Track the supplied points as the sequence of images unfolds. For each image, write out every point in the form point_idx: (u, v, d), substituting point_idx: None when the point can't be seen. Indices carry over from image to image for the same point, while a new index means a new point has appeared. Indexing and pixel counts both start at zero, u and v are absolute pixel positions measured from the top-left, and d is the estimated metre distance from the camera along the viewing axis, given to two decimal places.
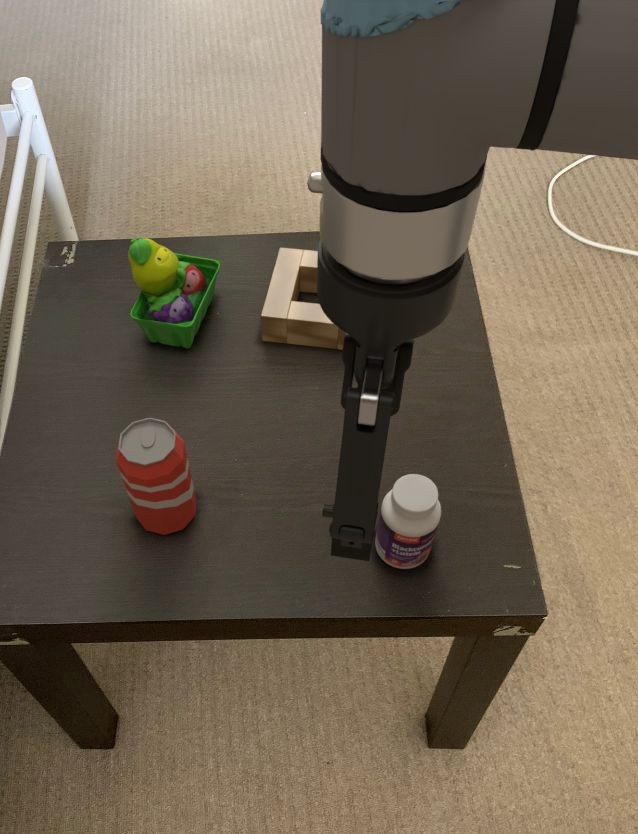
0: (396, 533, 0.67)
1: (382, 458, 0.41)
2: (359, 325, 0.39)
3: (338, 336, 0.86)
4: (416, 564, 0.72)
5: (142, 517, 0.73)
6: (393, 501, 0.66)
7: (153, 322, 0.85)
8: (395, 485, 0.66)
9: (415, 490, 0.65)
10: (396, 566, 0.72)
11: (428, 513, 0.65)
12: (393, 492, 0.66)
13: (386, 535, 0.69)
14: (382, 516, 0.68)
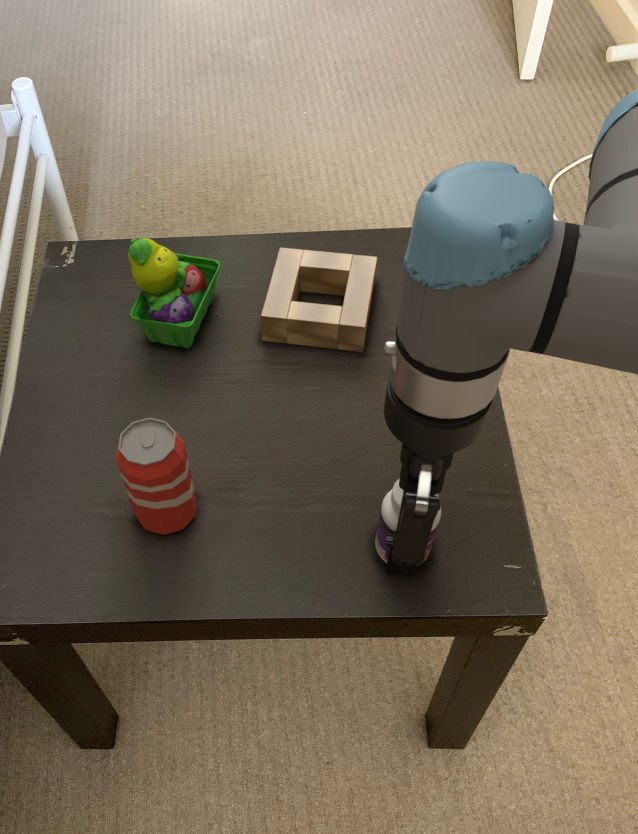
0: None
1: (430, 530, 0.58)
2: (417, 443, 0.54)
3: (338, 336, 0.86)
4: None
5: (142, 517, 0.73)
6: (393, 501, 0.66)
7: (153, 322, 0.85)
8: (395, 485, 0.66)
9: None
10: None
11: None
12: (393, 492, 0.66)
13: None
14: (382, 516, 0.68)
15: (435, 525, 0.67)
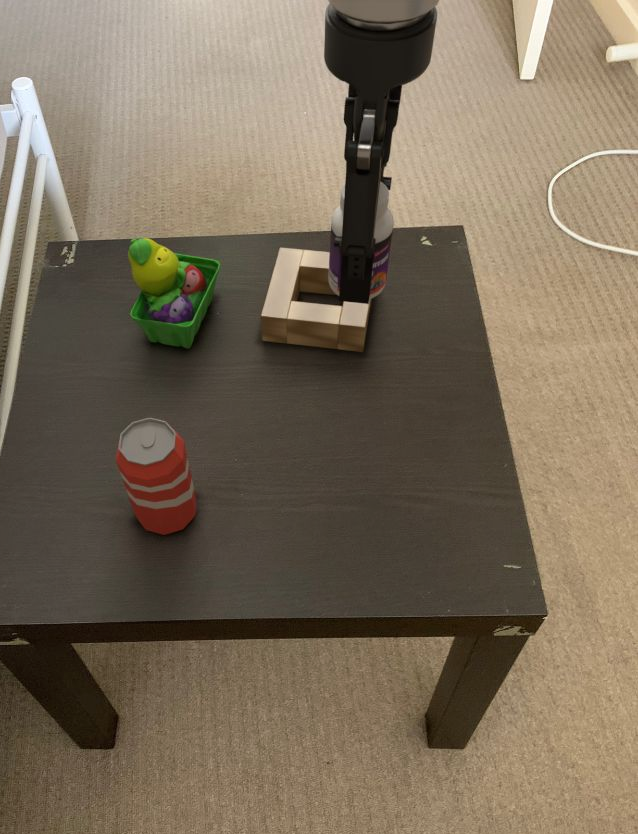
0: None
1: (376, 194, 0.55)
2: (357, 72, 0.51)
3: (338, 336, 0.86)
4: (370, 294, 0.68)
5: (142, 517, 0.73)
6: (342, 202, 0.62)
7: (153, 322, 0.85)
8: (344, 187, 0.63)
9: None
10: None
11: (378, 213, 0.62)
12: (342, 192, 0.62)
13: (337, 253, 0.65)
14: (332, 229, 0.65)
15: (387, 233, 0.64)
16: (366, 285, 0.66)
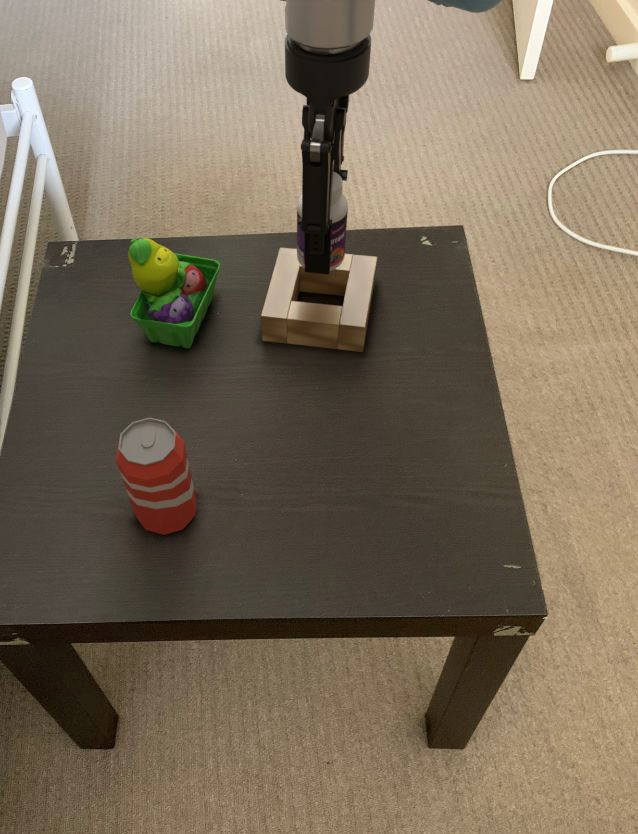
0: None
1: (327, 182, 0.70)
2: (309, 86, 0.65)
3: (338, 336, 0.86)
4: (330, 266, 0.83)
5: (142, 517, 0.73)
6: None
7: (153, 322, 0.85)
8: None
9: None
10: None
11: (334, 198, 0.76)
12: None
13: None
14: (297, 211, 0.79)
15: (341, 214, 0.78)
16: (326, 258, 0.80)
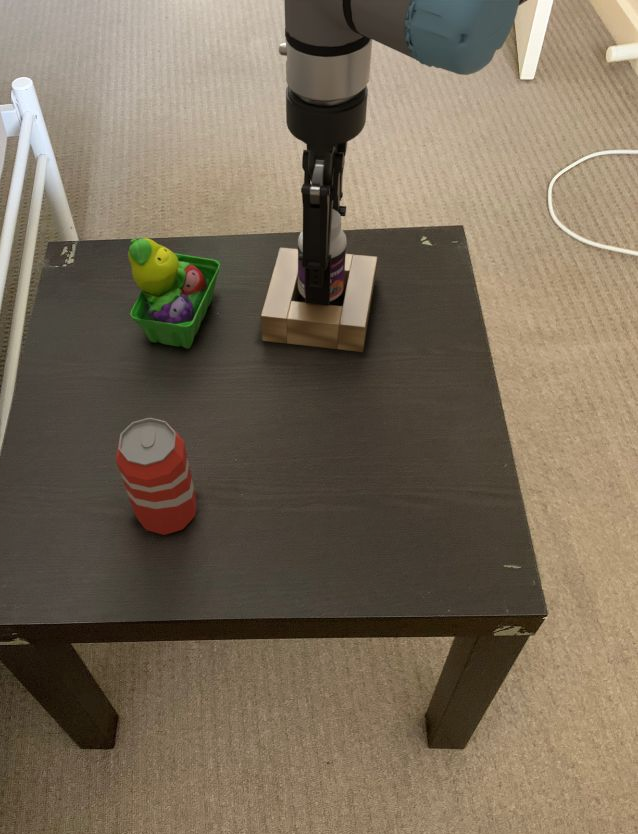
0: None
1: (326, 222, 0.73)
2: (309, 134, 0.69)
3: (338, 336, 0.86)
4: (330, 297, 0.86)
5: (142, 517, 0.73)
6: None
7: (153, 322, 0.85)
8: None
9: None
10: None
11: (333, 234, 0.80)
12: None
13: None
14: (298, 246, 0.83)
15: (340, 249, 0.82)
16: (326, 290, 0.84)
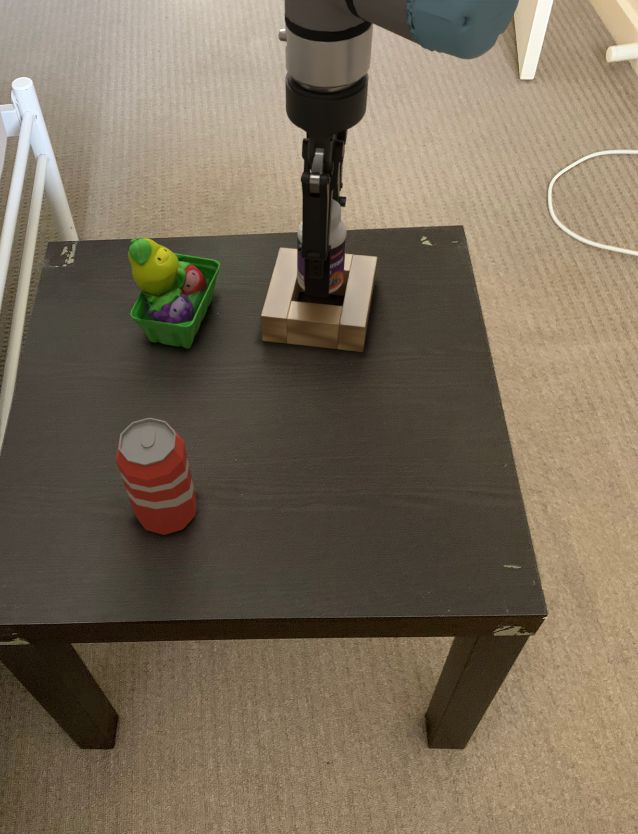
0: None
1: (326, 211, 0.72)
2: (309, 121, 0.68)
3: (338, 336, 0.86)
4: (330, 289, 0.85)
5: (142, 517, 0.73)
6: None
7: (153, 322, 0.85)
8: None
9: None
10: None
11: (333, 225, 0.79)
12: None
13: None
14: (298, 237, 0.82)
15: (340, 240, 0.81)
16: (325, 282, 0.83)
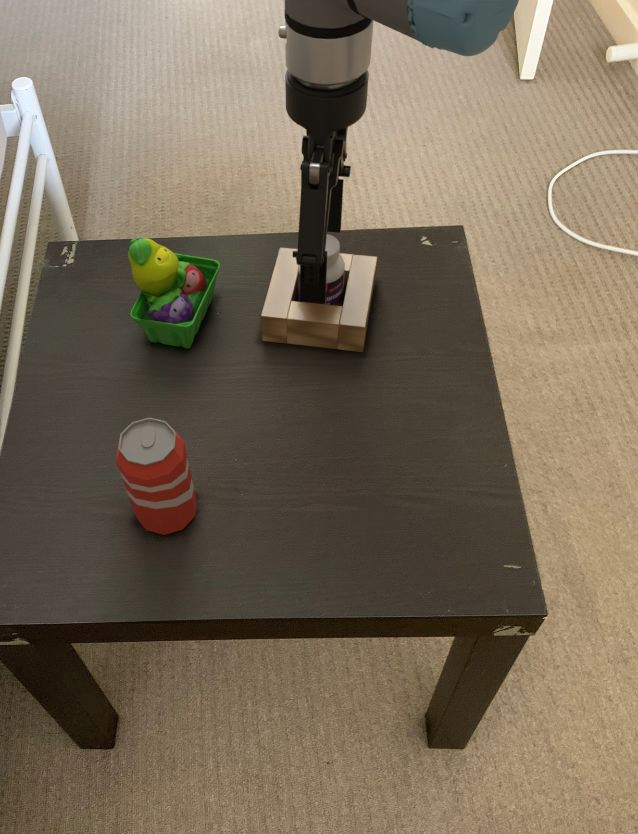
0: None
1: (324, 206, 0.70)
2: (309, 119, 0.68)
3: (338, 336, 0.86)
4: None
5: (142, 517, 0.73)
6: None
7: (153, 322, 0.85)
8: None
9: None
10: None
11: (331, 260, 0.83)
12: None
13: None
14: (298, 271, 0.86)
15: (339, 274, 0.85)
16: (321, 289, 0.80)
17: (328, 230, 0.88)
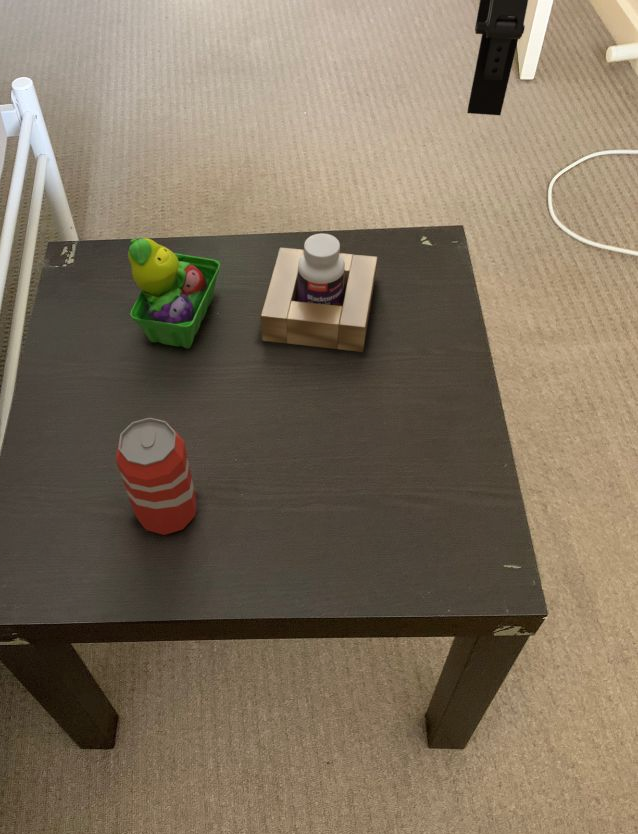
0: (308, 282, 0.85)
1: None
2: None
3: (338, 336, 0.86)
4: None
5: (142, 517, 0.73)
6: (305, 252, 0.84)
7: (153, 322, 0.85)
8: (306, 240, 0.84)
9: (322, 243, 0.83)
10: None
11: (331, 260, 0.83)
12: (304, 245, 0.84)
13: (302, 288, 0.87)
14: (298, 271, 0.86)
15: (339, 274, 0.85)
16: (501, 90, 0.61)
17: None
